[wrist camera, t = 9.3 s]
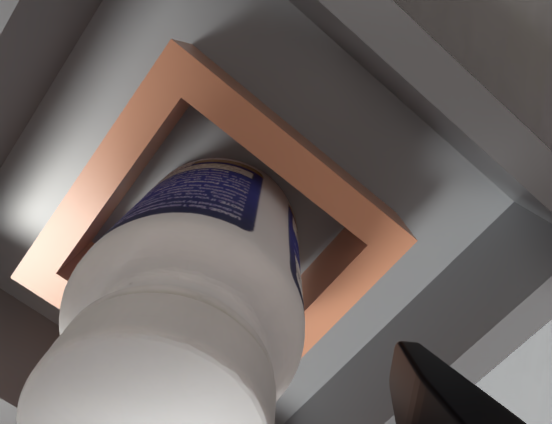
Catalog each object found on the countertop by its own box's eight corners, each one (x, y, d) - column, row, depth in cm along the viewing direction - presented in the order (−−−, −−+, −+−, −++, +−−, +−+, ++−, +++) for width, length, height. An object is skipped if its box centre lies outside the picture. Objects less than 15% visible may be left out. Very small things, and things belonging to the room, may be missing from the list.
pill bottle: (114, 230, 15) (-101, 437, 7) (216, 121, 14) (108, 207, 5) (226, 324, 16) (163, 603, 8) (329, 232, 15) (387, 445, 7)
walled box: (544, 191, 15) (645, 239, 11) (260, 460, 19) (254, 571, 15) (165, -156, 12) (101, -276, 8) (-73, 249, 16) (-200, 313, 12)
